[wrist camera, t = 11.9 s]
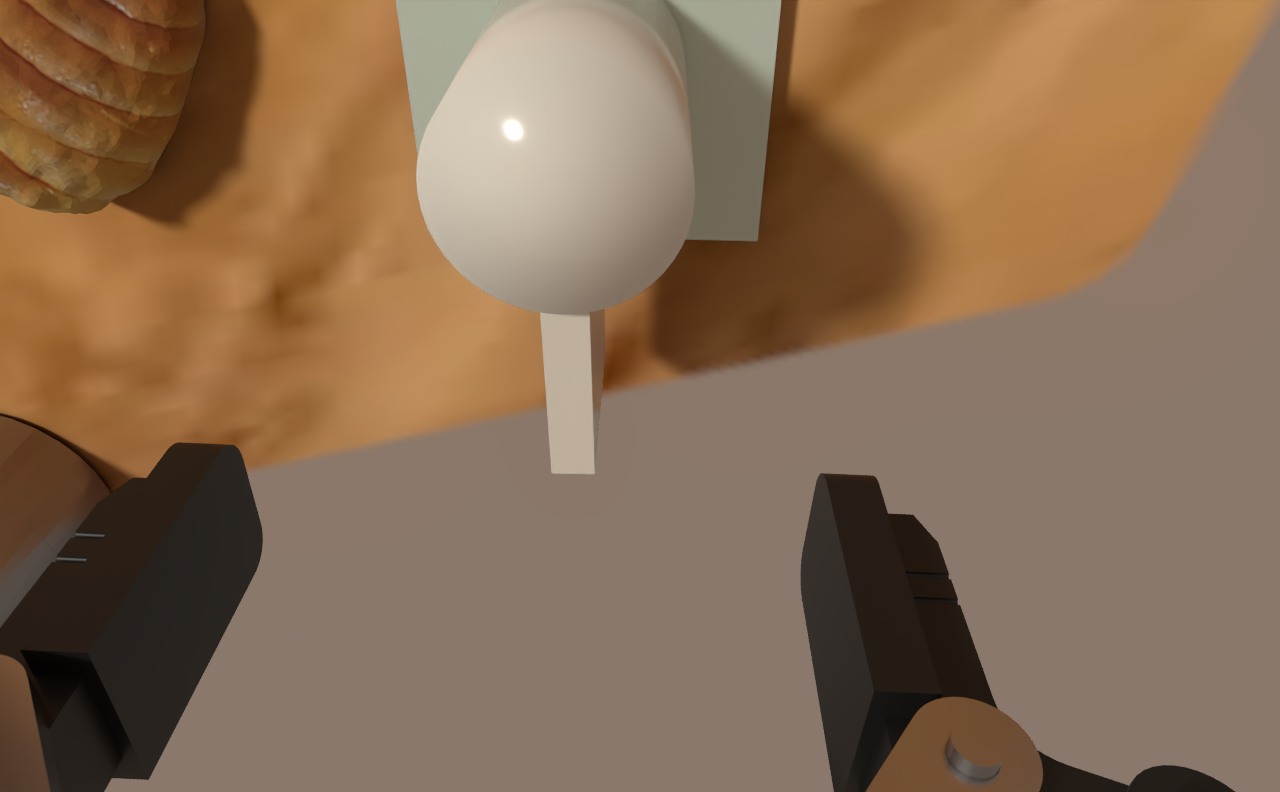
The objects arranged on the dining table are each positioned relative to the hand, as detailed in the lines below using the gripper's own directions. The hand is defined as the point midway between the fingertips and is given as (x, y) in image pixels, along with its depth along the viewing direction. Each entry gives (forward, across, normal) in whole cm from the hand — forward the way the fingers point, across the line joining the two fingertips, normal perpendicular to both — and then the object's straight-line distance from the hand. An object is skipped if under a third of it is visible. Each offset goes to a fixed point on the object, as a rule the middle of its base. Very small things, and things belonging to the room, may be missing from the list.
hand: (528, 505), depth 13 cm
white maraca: (+18, +1, +1) cm, 18 cm away
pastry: (+19, +16, -1) cm, 25 cm away
